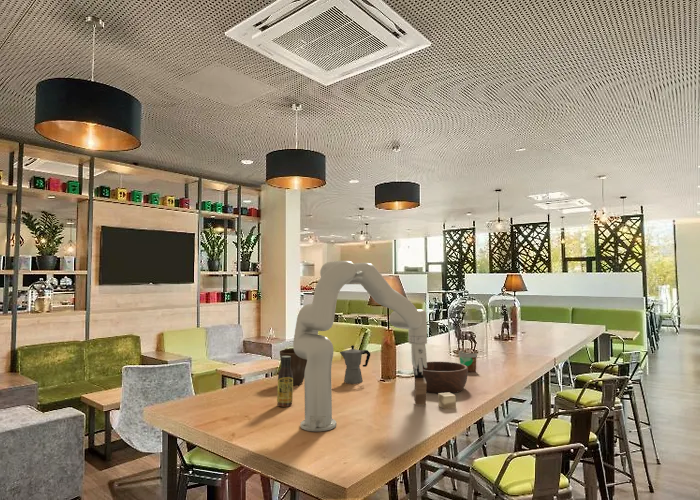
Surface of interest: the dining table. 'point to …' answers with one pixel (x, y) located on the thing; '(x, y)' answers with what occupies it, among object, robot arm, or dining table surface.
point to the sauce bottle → (285, 383)
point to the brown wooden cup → (295, 365)
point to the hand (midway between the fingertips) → (418, 384)
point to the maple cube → (447, 400)
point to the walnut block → (420, 391)
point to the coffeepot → (354, 364)
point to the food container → (468, 360)
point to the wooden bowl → (444, 377)
